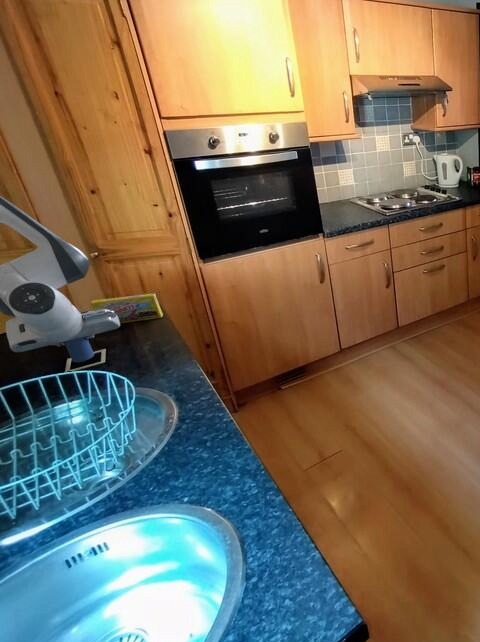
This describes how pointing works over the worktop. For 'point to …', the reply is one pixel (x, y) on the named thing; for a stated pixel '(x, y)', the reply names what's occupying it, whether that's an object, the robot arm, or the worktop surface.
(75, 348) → the blue bottle
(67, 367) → the spot outline
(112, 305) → the candy box
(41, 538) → the worktop surface
